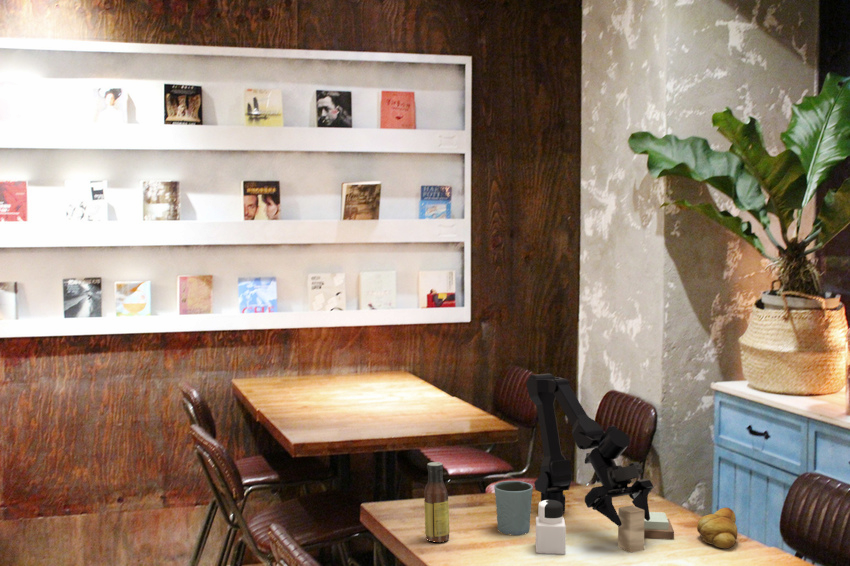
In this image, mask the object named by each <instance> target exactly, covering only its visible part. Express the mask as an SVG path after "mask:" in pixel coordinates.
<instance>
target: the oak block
mask: <svg viewBox="0 0 850 566" xmlns="http://www.w3.org/2000/svg"><path fill="white" fill-rule="evenodd" d="M644 512H645V510H643V509H640V508H638V507H635V505H634V504H633V505H627V506H621V507H618V512H617V514H618V516H619V518H620V521H621V523H622V525H621V526H617V531H618V532H617V548H619V549H621V550H623V551H626V552H628V553H635V552H639V551H644V550H645V538H644Z"/></svg>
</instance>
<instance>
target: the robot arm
mask: <svg viewBox="0 0 850 566" xmlns="http://www.w3.org/2000/svg"><path fill="white" fill-rule="evenodd" d="M526 388H527V393H528V397H529V399H530V400H531V401H532V402H533V404H534V406H536V411H537V413H536V414H537V418H538V424H539V432H540V438H541V443H542V444H541V445H542V450H543V451H542V452H543V458H542V462H541V464H540V467H539V469H540V475H539V476H538V477H537V478H536V480H535V481H534V488H535V491H537V492H538V493H540V502H541V501H544V500H556V501H559V502H561V503H562V505H563V512H565V511H566V495H565V494H564V491H569V490H570V487H571V483H572V480H573V478H572V477H573V473H574V472H573V470H572V466H571V460H570V459H569V458H568V459H566V457H565V456H564V455H563V453H562V449H561V442H560V436H559V429H558V422H557V417H556V416H557V415H556V410H555V405H554V404H555V401H557V403H558V404H559V406H560V408H561V409H562V411H563V412H564V414H565V417H566V418H567V419H568V422H569V424H571V427H572V428H571V435H572V438H573V439H574V443H575V445H576V446H577V448H578V449H579V450H583V451H584V450H591V449H592V450H591V451H590V452H587V453H586V454H585V458H584V464H585V465H587V464H588V465H589V464H591V466H592V468H593V470H594V472H595V474H596V475H597V477H596V478H595V481H596V482H597V483H600V484H601V486H594V487H592V488H591V489H590V490H589V491H588V492H587V494H586V495H585V496H584V504H585V505H586V507H587V508H588V509H589V508H591V509H592V510H593V511H597V512H598V513H600V514H602V515H603V516H605V517H606V518H607V519H608V520H610V521H611V523H613V524H615V525H616V526H617V527H618V526H621V525H622V523H621V521H620V518H619V516H618V512H617V510H616V509H615V507H614V506H615V505H614V504H613V498H616V497H617V498H618V497H624V496H629V498H630V499H631V500H632V501H631V503H632V504H633V506H635V507H638V508H640V509H643V510H645V512H644V518H645V519H646V520H647V521H649V520H650V514H649V512H650V508H649V501H648V497H649V494H650V493H651V492H652V490H653V489H654V487H655V486H654V484H653V483H652V481H651V480H650V479H649V478H643V479H639V478H640V475H641V474H643V468H642V466H641V464H640V463H639V462H638V461H634V462H632V463H629V465H628V466H627V465H626V466H622V465H617V463H616V459H619V457H620V456H621V455H622V454H623V453H624V452H625V450H626V449H627V448H628V447H629V445H630V436H629V435H628V434H626V432H625V431H623V430H621V429H618V428H617V427H616V425H611V426H610V425H608V427H607V429H606V431H604V429H603V428H602V427H601V425H600V424H599V423H598V422H597V421H596V420H594V419H592V418H591V417H589V415H588V414H587V412H586V411H585V409H584V408H583V405H582V403H581V402H580V401H579V399H578V397H577V396H576V395H575V392H574V391H573V389H572V387H571V383H570V381H569V380H568V378H562V377H558V376H557V377H556V376H554V375H553V374H552V373H540V374H538V373H537V374H531V375H530V376H529V377H528V379H527V380H526ZM634 479H638V480H636V481H634V482H633V484H632V485H631V486H629V485H630V484H631V483H632V481H633V480H634Z"/></svg>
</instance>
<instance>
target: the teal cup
mask: <svg viewBox="0 0 850 566" xmlns="http://www.w3.org/2000/svg"><path fill="white" fill-rule="evenodd" d="M493 488H494V496H495V507H496V508H495V509H496V523H497V524H496V525H497V531H498V530H499V531H500V532H499V531H498V532H499V533H501V532H502V533H501V534H503V533H505V534H504V535H507V534H511V535H510V536H522V535H521V534H523V535H526V534H528V533H529V532H530V529H531V524H530V523H531V513H532V512H531V510H532V502H533V501H532V500H533V499H532V498H533V491H534V490H533V489H534V486H533V485H532V484H531V483H529V482H525V481H522V480H521V481H520V480H505V481H499V482H496V483H495V484H494V487H493ZM525 533H526V534H525Z"/></svg>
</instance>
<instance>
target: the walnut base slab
mask: <svg viewBox="0 0 850 566" xmlns="http://www.w3.org/2000/svg"><path fill="white" fill-rule="evenodd" d="M667 519H668V522H669V530H658V529H644V539H659V540H675V530H674V528H673V525H672V523H671V520H670V518H667Z"/></svg>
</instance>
